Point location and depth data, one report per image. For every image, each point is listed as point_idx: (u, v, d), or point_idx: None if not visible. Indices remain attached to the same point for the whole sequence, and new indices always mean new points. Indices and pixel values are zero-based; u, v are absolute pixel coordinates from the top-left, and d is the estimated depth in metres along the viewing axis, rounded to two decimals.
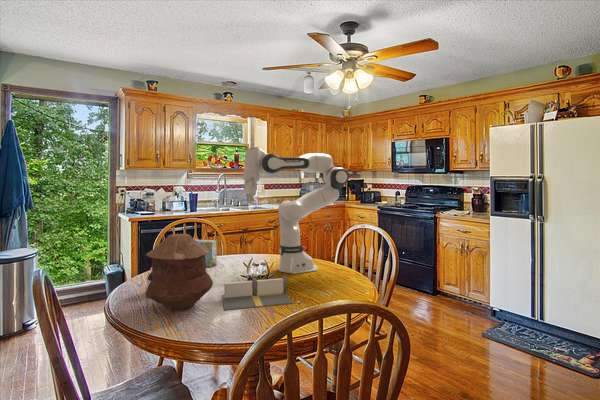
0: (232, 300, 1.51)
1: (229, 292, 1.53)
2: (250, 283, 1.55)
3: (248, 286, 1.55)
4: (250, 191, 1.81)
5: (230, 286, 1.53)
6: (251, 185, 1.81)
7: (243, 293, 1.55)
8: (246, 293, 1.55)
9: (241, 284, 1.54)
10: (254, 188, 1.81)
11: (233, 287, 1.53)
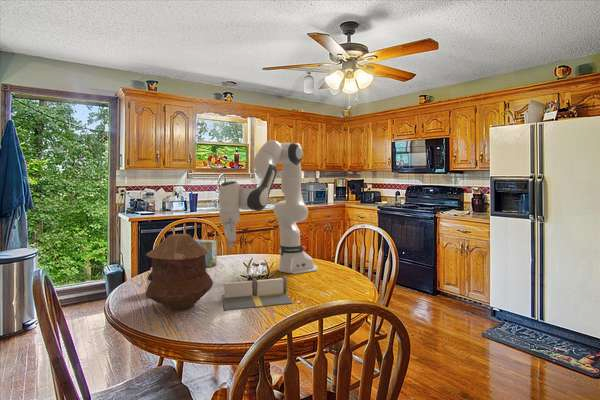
0: (232, 300, 1.51)
1: (229, 292, 1.53)
2: (250, 283, 1.55)
3: (248, 286, 1.55)
4: (229, 238, 1.48)
5: (230, 286, 1.53)
6: (229, 230, 1.48)
7: (243, 293, 1.55)
8: (246, 293, 1.55)
9: (241, 284, 1.54)
10: (233, 233, 1.48)
11: (233, 287, 1.53)
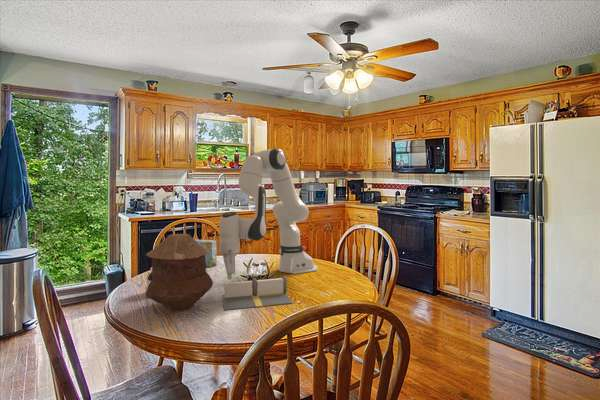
0: (232, 300, 1.51)
1: (229, 292, 1.53)
2: (250, 283, 1.55)
3: (248, 286, 1.55)
4: (228, 270, 1.49)
5: (230, 286, 1.53)
6: (228, 262, 1.49)
7: (243, 293, 1.55)
8: (246, 293, 1.55)
9: (241, 284, 1.54)
10: (232, 266, 1.49)
11: (233, 287, 1.53)
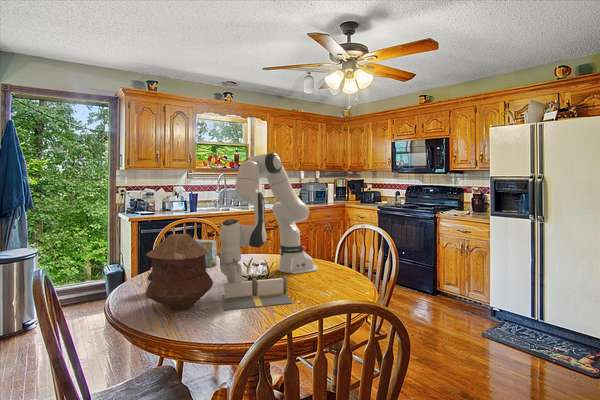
0: (232, 300, 1.51)
1: (229, 292, 1.53)
2: (250, 283, 1.55)
3: (248, 286, 1.55)
4: (235, 279, 1.46)
5: (230, 287, 1.53)
6: (236, 271, 1.46)
7: (243, 293, 1.55)
8: (246, 293, 1.55)
9: (241, 284, 1.54)
10: (240, 274, 1.47)
11: (233, 288, 1.53)
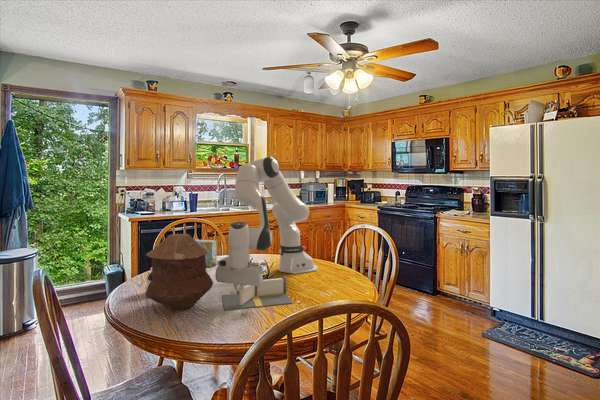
0: (232, 300, 1.51)
1: (244, 298, 1.46)
2: None
3: (253, 287, 1.54)
4: (260, 281, 1.44)
5: (245, 292, 1.46)
6: (259, 274, 1.44)
7: (251, 295, 1.52)
8: (252, 295, 1.53)
9: (250, 287, 1.51)
10: (261, 276, 1.45)
11: (246, 292, 1.47)
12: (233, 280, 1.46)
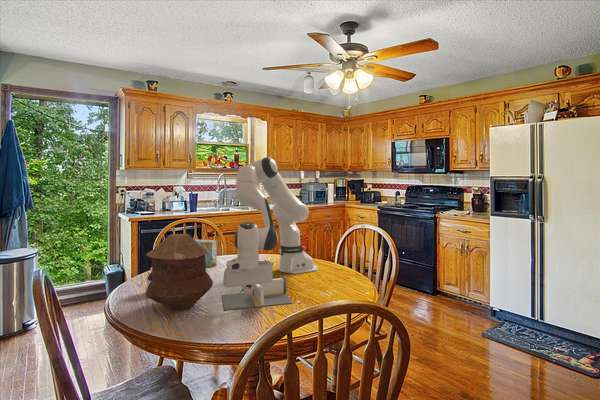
0: (232, 300, 1.51)
1: None
2: None
3: None
4: None
5: None
6: None
7: None
8: None
9: None
10: None
11: None
12: (245, 282, 1.44)
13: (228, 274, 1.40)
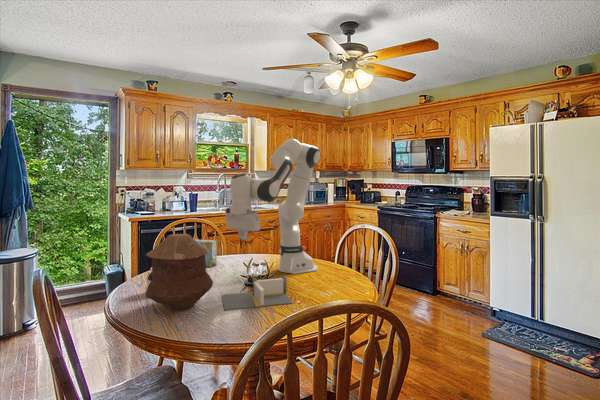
0: (232, 300, 1.51)
1: None
2: None
3: None
4: (255, 227, 1.53)
5: None
6: (255, 220, 1.53)
7: None
8: None
9: None
10: (258, 223, 1.54)
11: None
12: (237, 226, 1.60)
13: (226, 217, 1.64)
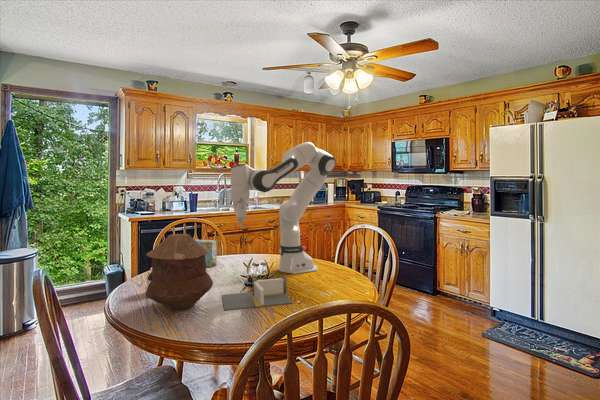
0: (232, 300, 1.51)
1: None
2: None
3: None
4: (240, 215, 1.60)
5: None
6: (240, 208, 1.61)
7: None
8: None
9: None
10: (244, 211, 1.61)
11: None
12: (236, 213, 1.72)
13: (233, 203, 1.78)
